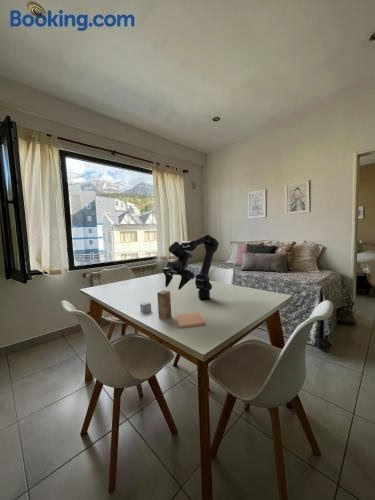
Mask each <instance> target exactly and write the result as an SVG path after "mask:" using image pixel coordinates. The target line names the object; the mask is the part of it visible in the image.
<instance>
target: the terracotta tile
mask: <svg viewBox="0 0 375 500" xmlns="http://www.w3.org/2000/svg"><path fill="white" fill-rule="evenodd" d="M174 317H175V320H176V323H177V326H178V328H179V329H182V328H188V327H189V328H190V327H195V326H196V327H197V326H203V325H206V321H205V320H204V319H203V317H202V316H201V314H200V313H199V312H192V313H191V312H190V313H181V314H175V315H174Z"/></svg>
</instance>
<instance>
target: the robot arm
mask: <svg viewBox="0 0 375 500" xmlns="http://www.w3.org/2000/svg"><path fill="white" fill-rule="evenodd" d="M219 243H220V242H219V241H218V240H217V239H216V238H214V237H212V236H211V235H210V234H208V233H207V234H202V235H200V236H198V237H196V238H193V239H190V240H183V241H181V243H179V242H178V241H174V243H171V245H170V246H169V247H168V252H169V253H170V254H171V255H173V256H174V257H175V258H177V259H176V260H174V261H167V264H166V267H163V268H162V271H161V273H163V275H164V277H165V283H164V285H165V288H168V287H169V285H170V284H171V281H172V280H173V278H174V277H173V276H174V275H177V276H180V281H179V285H178V287H177V288H178V289H177V290H179V291H180V290H181V289H182V288H183V287H184V286H185V285H186V284H188V282H190V281H192V280H194V284H195V288H196V289H198V291H197V293H198V294H197V295H198V296H197V298H198V299H200V301H205V300H207V301H208V300H212V299H211V294H210V293H211V290H212V288H213V285H212V284H211V282H210V281H211V280H210V276H209V273H210V269H211V265H212V261H213V257H214V254H215V253H216V252H217V250H218V247H219ZM202 244H203V245H204V249H205V254H204V257H203V262H202V265H201V270H200V272H199V273H197V274H196V277H195V273H194V272H192V271H191V270H189V269H186V268H189V267H188V262H189V259H190V258H191V259H192V258H193V255H192V253H191V252H193V251H194V250H196V249H197V247H198V246H200V245H202ZM194 278H195V279H194Z"/></svg>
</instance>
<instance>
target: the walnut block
mask: <svg viewBox="0 0 375 500" xmlns="http://www.w3.org/2000/svg"><path fill="white" fill-rule="evenodd" d="M156 293H157V295H156V296H157V311H158V318H159V319H161V320H163V321H165V320H168V319H170V318H171V317H172V301H171V300H172V299H171V291H170V290H169V291H168V290H164V289H163V290H160V291H158V292H156Z"/></svg>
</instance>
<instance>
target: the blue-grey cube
mask: <svg viewBox="0 0 375 500" xmlns="http://www.w3.org/2000/svg"><path fill="white" fill-rule="evenodd" d="M139 306H140V312H141V313H143V314H146V313H149V312H152V303H151V302H150V301H148V300H147V301H142V302H140V305H139ZM145 312H146V313H145Z"/></svg>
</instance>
